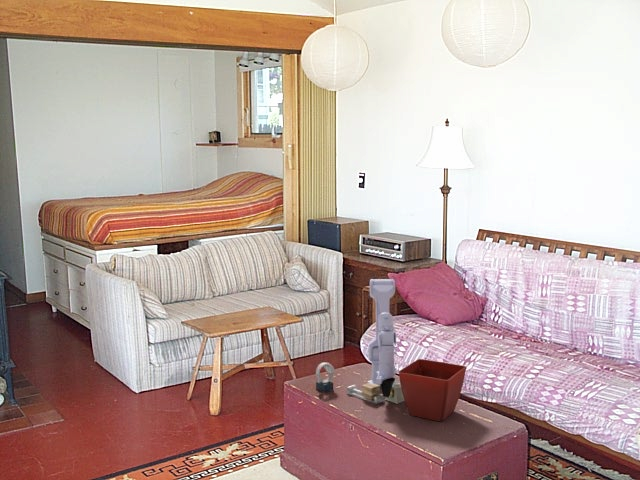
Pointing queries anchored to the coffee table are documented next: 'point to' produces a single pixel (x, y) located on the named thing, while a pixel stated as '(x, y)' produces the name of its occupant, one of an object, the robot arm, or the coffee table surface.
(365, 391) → the carriage
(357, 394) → the rail
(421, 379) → the plant pot
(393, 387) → the cabinet
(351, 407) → the coffee table surface
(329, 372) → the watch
